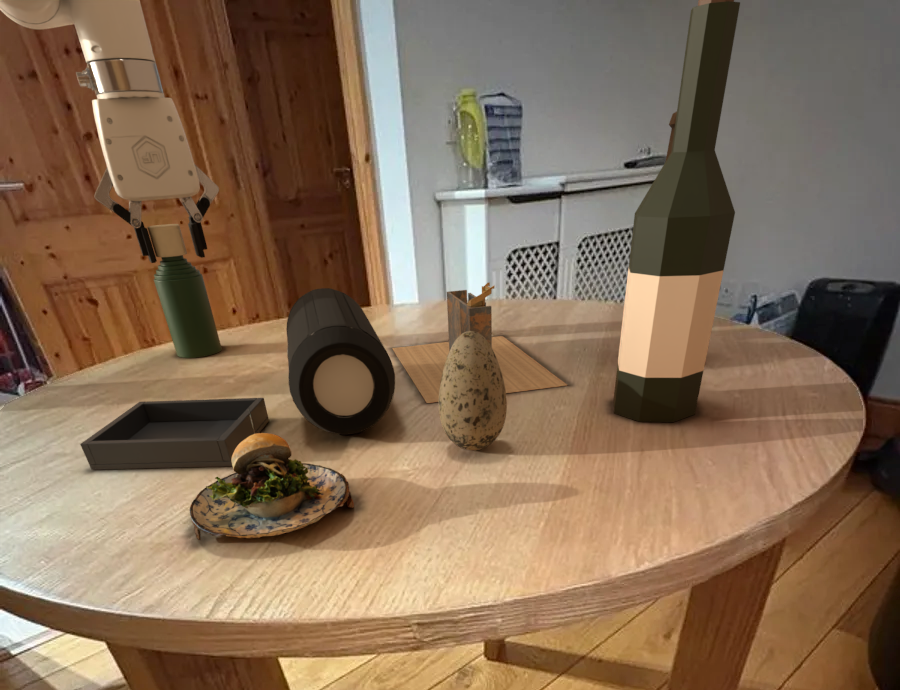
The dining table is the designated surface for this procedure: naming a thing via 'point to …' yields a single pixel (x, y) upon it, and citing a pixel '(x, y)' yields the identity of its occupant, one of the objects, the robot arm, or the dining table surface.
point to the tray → (176, 434)
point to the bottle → (186, 308)
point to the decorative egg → (472, 393)
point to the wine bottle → (680, 240)
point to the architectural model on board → (477, 317)
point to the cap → (167, 240)
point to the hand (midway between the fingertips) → (177, 257)
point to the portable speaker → (337, 363)
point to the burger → (267, 492)
